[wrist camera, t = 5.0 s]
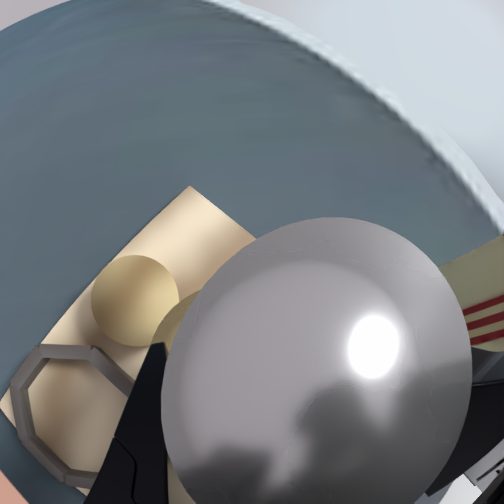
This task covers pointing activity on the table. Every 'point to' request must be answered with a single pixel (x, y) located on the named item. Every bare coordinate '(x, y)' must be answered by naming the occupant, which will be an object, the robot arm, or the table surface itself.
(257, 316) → the silver round piece
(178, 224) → the board
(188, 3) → the table surface
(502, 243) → the gift box
